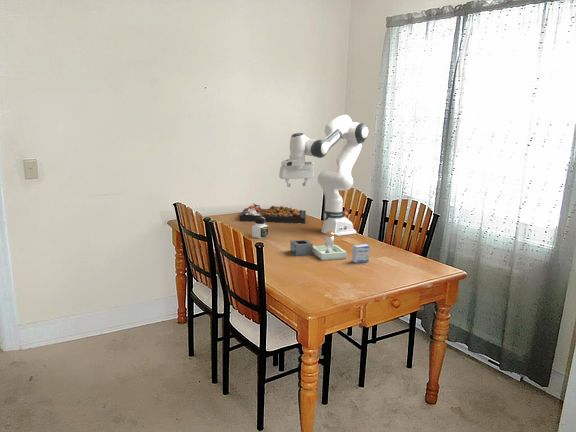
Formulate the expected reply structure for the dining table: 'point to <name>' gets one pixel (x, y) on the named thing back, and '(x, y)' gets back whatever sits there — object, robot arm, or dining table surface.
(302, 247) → the block
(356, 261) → the medicine box
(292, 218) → the food platter
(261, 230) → the medicine bottle
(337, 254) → the tray
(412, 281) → the dining table surface
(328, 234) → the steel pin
